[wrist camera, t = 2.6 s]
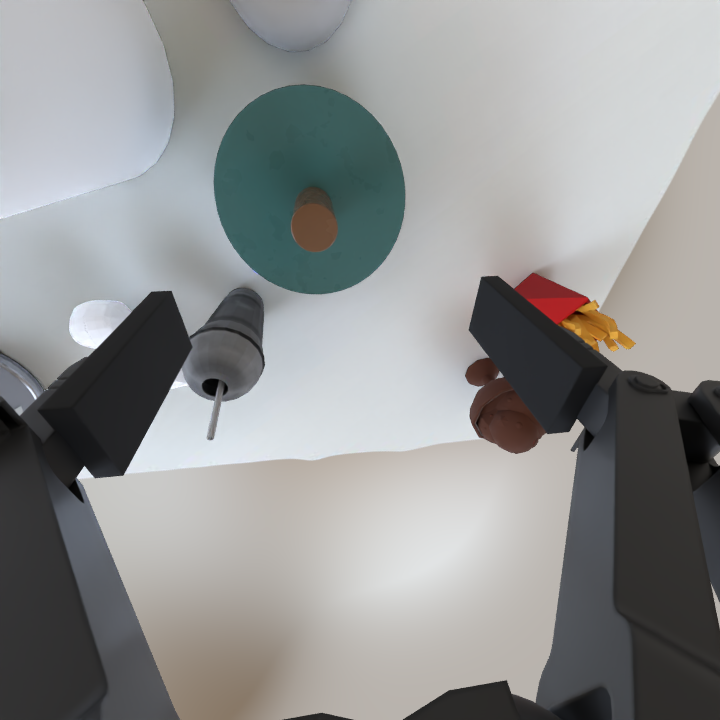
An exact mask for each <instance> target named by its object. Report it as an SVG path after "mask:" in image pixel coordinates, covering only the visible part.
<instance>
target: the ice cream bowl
mask: <svg viewBox="0 0 720 720" xmlns="http://www.w3.org/2000/svg"><path fill="white" fill-rule="evenodd" d="M498 373H499V369H498V368H497V367H496V365H495V364H494V363H493V361H492V360H491V359H490V358H485V359H481V360H477V361H476V362H475V363H473V364H472V365H471V366H470V367H468V370H467V373H466V375H465V377H466V379H467V381H468V383H470V384H472V385H475V386H478V387H479V386H483V385H485V386H484V387H482V388H481V389H480V390H479V391H478V392H477V394H476V396H475V398H474V401H473V403H472V406H471V408H470V419H471V423H472V426H473V427H474V429H475V431H476V433H477V435H478V436H479V438H484V439H486V440H488V441H490V442H492V443H495V444H497V445H498V446H499V447H501V448H502V449H504V450H506V451H508V452H511V453H515V454H518V453H523V452H526V451H529V450H530V449H531V448H533V447H535V446H536V445H537V443H538V439H540V438H541V437H542V435H544V434H545V433H546V431H545V430H544V429H543V427H542V426H541V425H540V423H539V422H538V421H537V419H536V418H535V417H534V415H533V414H532V413H531V412H530V410H529V409H528V408H527V406H526V405H525V404H524V402H523V401H522V400H521V398H520V397H519V396H518V394H517V393H516V392H515V390H514V389H513V388H512V387H511V385H510V384H509V383H508V381H507V380H506V379H505V377H503V378H498V379H496V378H497V376H498Z"/></svg>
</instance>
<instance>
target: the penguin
mask: <svg viewBox="0 0 720 720" xmlns="http://www.w3.org/2000/svg"><path fill="white" fill-rule="evenodd" d="M130 313H131V311H130V309H129V308H128V307H127V306H126V305H125V304H123V303H122V302H119V301H113V300H93V301H88V302H85V303H83V304H80V305H78V306H77V307H75V308H74V310H73V312H72V315H71V317H70V320H69V326H70V328H69V329H70V331H69V333H70V334H71V336H72V338H73V339H74V340H75V341H76V342H77V343H79V344H80V345H82V346H85V347H89V348H95V349H97V348H98V346H99V345H100V344H101V343H102V342H103V341H104V340H105V339H106V338H107V337H108V336H109V335H110V334H111V333H112V332H113V331H114V330H115V329H116V328H117V327H118V326H119V325H120V324H121V323H122V322H123V321H124V320H125V319H126V318H127V316H128V315H129V314H130ZM183 385H184V386H189V385H188V384H187V382H186V381H185V379H184V375H183V372H182V368H181V370H180V372H179V373H178V375H177V377H176V379H175V381H174V383H173V385H172V386H171V388H170V389H173V388H177V387H182V386H183Z"/></svg>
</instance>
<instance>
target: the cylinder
mask: <svg viewBox="0 0 720 720" xmlns="http://www.w3.org/2000/svg"><path fill="white" fill-rule="evenodd" d="M174 116H175V113H174V90H173V80H172V76H171V72H170V68H169V64H168V60H167V56H166V53H165V49H164V45H163V43H162V41H161V38H160V36H159V34H158V32H157V30H156V27H155V25H154V23H153V21H152V19H151V16H150V14H149V12H148V10H147V8H146V5H145V4H144V2H143V1H142V0H0V219H3V218H6V217H10V216H13V215H16V214H19V213H23V212H26V211H29V210H32V209H36V208H39V207H42V206H46V205H49V204H52V203H55V202H59V201H62V200H65V199H68V198H72V197H75V196H78V195H82V194H85V193H88V192H91V191H95V190H98V189H101V188H104V187H108V186H111V185H114V184H117V183H121V182H124V181H127V180H130V179H133V178H136V177H139V176H140V175H142V174H143V173H144V172H145V171H147V170H148V169H149V168H150V167H152V166H153V165H154V164H156V163H157V161H158V159H159V158H160V156H161V154H162V153H163V151H164V149H165V148H166V146H167V144H168V142H169V139H170V134H171V129H172V125H173V120H174Z"/></svg>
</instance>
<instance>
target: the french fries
mask: <svg viewBox="0 0 720 720" xmlns="http://www.w3.org/2000/svg"><path fill="white" fill-rule="evenodd" d="M514 290H516V291H517V292H518V293H519V294H520V295H522V296H523V297H524V298H525V299H527V300H528V301H529V302H530V303H531V304H533V305H534V306H535V307H536V308H538V309H539V310H540V311H541V312H542V313H544V314H545V315H546V316H547V317H549V318H550V319H551V320H552V321H553V322H555V323H556V324H557V325H558V326H561V327H563V328H565V329H567V330H570V331H572V332H574V333H575V334H577V335H578V336H579V337H580V338H582V339H583V340H584V341H585V343H588V344H589V345H590V346H592V347H593V350H597V351H598V352H599V347H598V343H597V341H596V340H599V341H602V340H604V342H605V343H606V345H607V347H608V348H609V349H610V350H611V351H616V350H617V349H619V348H618V346H617V345H616V343H615V342H614V340H615V341H617V342H618V343H619V344H621V345H622V346H623V347H624V348H626V349H631V347H633V346H634V345H635V344H636V343H635V342H633V341H632V340H631V339H630V338H628V337H627V336H626V335H624V334H623V333H622V332H620V331H619V330H618V329H617V325H616V323H615V321H614V320H613V319H611V318H610V317H608V316H606V315H604V314H601V313H599V312H598V311H597V310H596V309H597V308H599V305H598V303H597V302H596V301H595V300H594V301H592V302H591V301H590V300H589V299H588V297H586V296H583V295H581V294H579V293H577V292H575V291H572V290H570V289H568V288H566V287H563V286H561V285H559V284H557V283H555V282H552V281H550V280H548V279H546V278H544V277H541V276H539V275H537V274H535V273H532V274H531V275H530V276H529V277H527V278H526V279H525V280H524V281H523V282H522V283H521V284H519V285H518V286H517V287H516V288H515V289H514ZM613 339H614V340H613Z"/></svg>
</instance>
